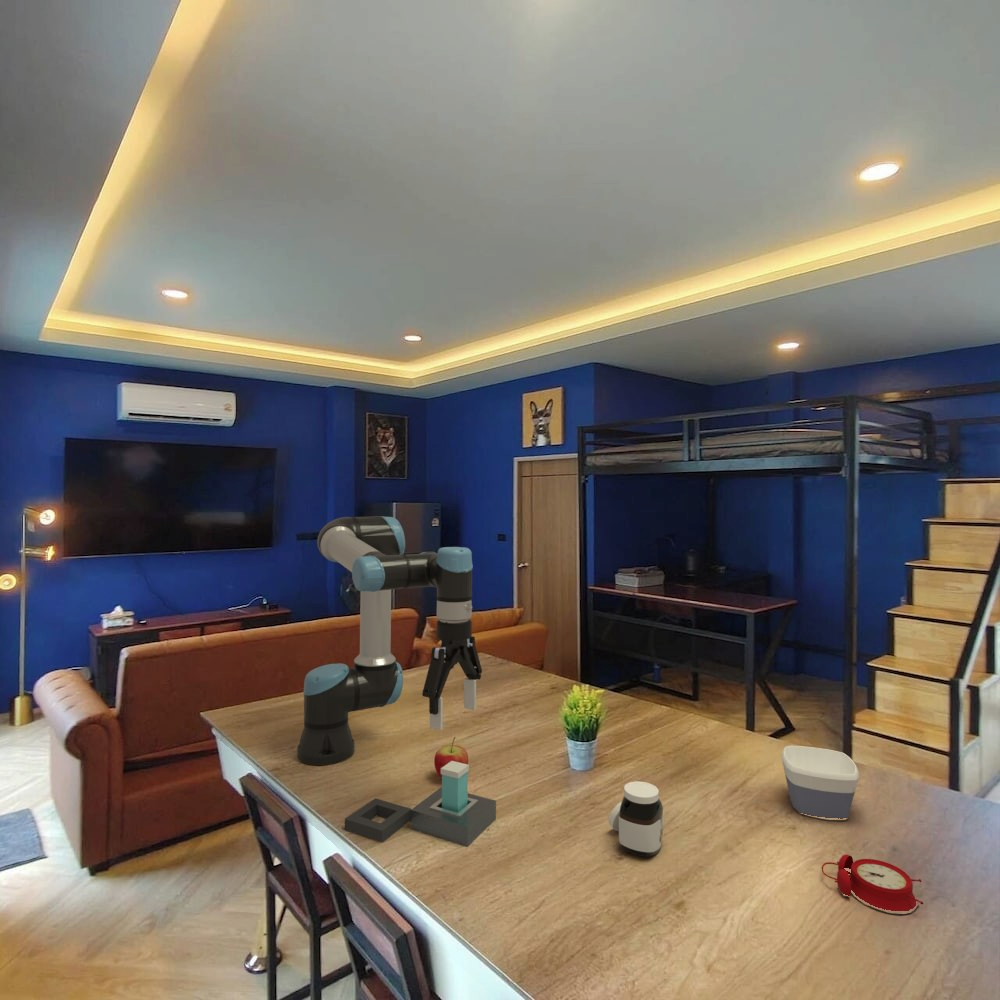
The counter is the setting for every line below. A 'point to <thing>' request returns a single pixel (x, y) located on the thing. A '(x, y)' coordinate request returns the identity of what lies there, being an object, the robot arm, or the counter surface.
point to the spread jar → (639, 819)
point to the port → (453, 818)
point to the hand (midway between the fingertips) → (453, 718)
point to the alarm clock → (876, 883)
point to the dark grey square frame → (375, 830)
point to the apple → (449, 756)
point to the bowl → (820, 781)
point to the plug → (454, 786)
